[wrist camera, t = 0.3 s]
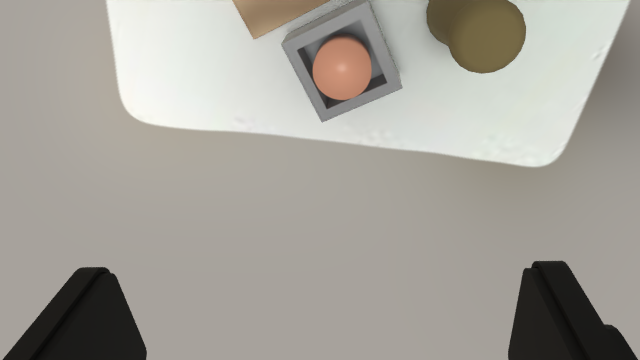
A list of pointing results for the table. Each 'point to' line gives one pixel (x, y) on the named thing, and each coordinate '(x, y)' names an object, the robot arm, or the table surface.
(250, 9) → the wooden board
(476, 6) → the pepper shaker
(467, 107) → the table surface
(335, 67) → the button
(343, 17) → the button housing
